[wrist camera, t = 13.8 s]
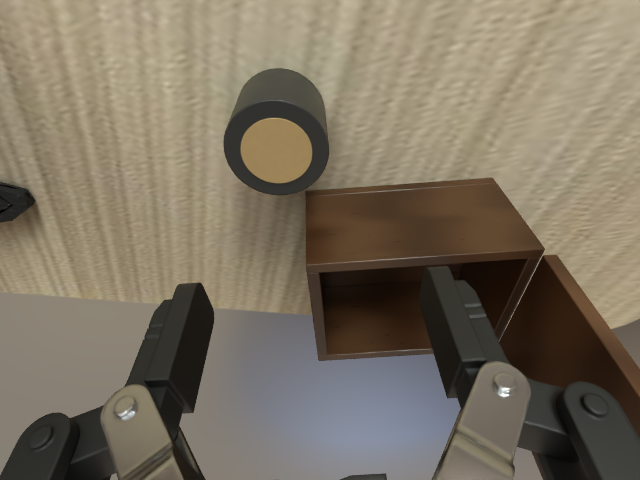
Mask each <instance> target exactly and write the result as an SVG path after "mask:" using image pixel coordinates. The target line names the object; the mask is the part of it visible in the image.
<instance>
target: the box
mask: <svg viewBox="0 0 640 480" xmlns="http://www.w3.org/2000/svg"><path fill="white" fill-rule="evenodd" d="M544 250H545V248H544V247H543V245H542V244H541V243H540V241H539V240H538V239H537V237H536V236H535V235H534V233H533V232H532V230H531V229H530V228H529V226H528V225H527V224H526V222H525V221H524V220H523V218H522V217H521V216H520V214H519V213H518V211H517V210H516V209H515V207H514V206H513V205H512V203H511V202H510V201H509V199H508V198H507V197H506V195H505V194H504V192H503V191H502V190H501V188H500V187H499V186H498V184H497V183H496V182H495V180H494V179H493V178H483V179H470V180H456V181H442V182H428V183H415V184H401V185H387V186H373V187H359V188H346V189H332V190H318V191H306V270H307V277H308V285H309V292H310V300H311V307H312V315H313V322H314V330H315V337H316V345H317V351H318V360H319V361H324V360H338V359H339V360H340V359H356V358H372V357H388V356H404V355H421V354H434V352H433V349H432V346H431V342H430V339H429V336H428V332H427V329H426V326H425V322H424V319H423V316H422V312H421V308H420V300H419V296H420V290H421V284H422V279H423V274H424V270H425V268H426V267H440V266H447V267H449V269H450V271H451V273H452V276H453V278H454V281H457V280H465V281H466V282H467V283H468V284H469V285H470V286H471V287H472V288H473V289H474V290H475V291H476V293H477V295H478V298H479V300H480V302H481V304H482V307H483V308H484V311H485V313H486V316H487V318H488V319H489V321H490V324H491V326H492V328H493V330H494V332H495V334H496V336H497V339H498V341H499V339H500V337H501V335H502V333H503V331H504V329H505V327H506V325H507V324H508V322H509V320H510V318H511V316H512V314H513V312H514V310H515V308H516V306H517V304H518V302H519V300H520V298H521V296H522V294H523V292H524V290H525V288H526V286H527V284H528V282H529V280H530V278H531V276H532V274H533V272H534V270H535V268H536V266H537V264H538V262H539V260H540V258H541V256H542V254H543V252H544Z"/></svg>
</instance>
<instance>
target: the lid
mask: <svg viewBox="0 0 640 480" xmlns="http://www.w3.org/2000/svg"><path fill="white" fill-rule="evenodd" d="M499 343H500V345H501V347H502V349H503V352H504V354H505V356H506V358H507V360H508V361H509V363H510V364H511V365H512V366H513V367H515V368H516V369H518V370H519V371H520V372H521V373H522V374H523V375H524V376H526V377H528V378H530V379H532V380H535V381H538V382H542V383H546V384H550V385H555V386H559V387H563V388H566V387H567V386H568V385H569V384H571V383H573V382H578V381H583V382H589V383H592V384H595V385H597V386H599V387H601V388H603V389H604V390H606V391H607V392H608V393H610V394H611V395H612V396H613V397H614V398H615V399H616V400H617V401H618V403H619V404H620V406H621V407H622V409H623V411H624V412H625V414H626V416H627V417H628V419H629V421H630V422H631V424H632V426H633V427H634V429H635V431H636V433H637V434H638V436H639V438H640V369H639V367H638V366H637V365H636V363H635V362H634V361H633V359H632V358H631V356H630V355H629V354H628V352H627V351H626V350H625V348H624V347H623V345H622V344H621V343H620V341H619V340H618V339H617V337H616V336H615V335H614V333H613V332H612V330H611V329H610V328H609V326H608V325H607V323H606V322H605V321H604V319H603V318H602V317H601V315H600V314H599V312H598V311H597V310H596V308H595V307H594V306H593V304H592V303H591V301H590V300H589V299H588V297H587V296H586V295H585V293H584V292H583V290H582V289H581V288H580V286H579V285H578V284H577V282H576V281H575V279H574V278H573V277H572V275H571V274H570V273H569V271H568V270H567V268H566V267H565V266H564V264H563V263H562V262H561V260H560V259H559V257H558V256H557V255H544V256H543V257H542V259H541V260H540V262H539V264H538V266H537V268H536V270H535V272H534V274H533V276H532V278H531V280H530V282H529V284H528V286H527V288H526V290H525V292H524V294H523V296H522V298H521V300H520V302H519V304H518V306H517V308H516V310H515V312H514V314H513V316H512V318H511V320H510V322H509V324H508V326H507V328H506V330H505V332H504V334H503V336H502V338H501V340H500V342H499ZM532 454H533V456H534V459H535V461H536V464H537V466H538V468H539V471H540V473H541V476H542V478H543V480H546V478H545V476H544V473H543V470H542V468H541V465H540V463H539V460H538V457H537V455H536V452H534V451H532Z"/></svg>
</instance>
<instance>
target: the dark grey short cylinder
mask: <svg viewBox="0 0 640 480" xmlns="http://www.w3.org/2000/svg"><path fill="white" fill-rule="evenodd" d="M224 152H225V156H226V159H227V162H228V164H229V166H230V168H231V169H232V171H233V172H234V174H235V175H236V176H237V177H238V178H239V179H240V180H241V181H242V182H243V183H245V184H246V185H248V186H249V187H251V188H253V189H255V190H257V191H259V192H263V193H266V194H271V195H288V194H293V193H297V192H299V191H302V190H304V189H306V188H307V187H309V186H310V185H312V184H313V183H314V182H315V181H316V180H317V179H318V178H319V177H320V176H321V174H322V173H323V171H324V169H325V167H326V164H327V161H328V156H329V144H328V134H327V125H326V115H325V107H324V103H323V99H322V97H321V95H320V93H319V91H318V90H317V88H316V87H315V86H314V84H313V83H312V82H311V81H310V80H308V79H307V78H306V77H304V76H303V75H301V74H299V73H297V72H295V71H292V70H288V69H269V70H265V71H262V72H260V73H258V74H256V75H255V76H253V77H252V78H251V79H250V80H249V81H248V82H247V83H246V84H245V85H244V87H243V89H242V90H241V92H240V95H239V97H238V100H237V102H236V105H235V108H234V110H233V113H232V115H231V118H230V121H229V123H228V126H227V128H226V131H225V135H224Z"/></svg>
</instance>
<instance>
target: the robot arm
mask: <svg viewBox="0 0 640 480" xmlns="http://www.w3.org/2000/svg"><path fill="white" fill-rule="evenodd" d="M419 300H420V308H421V312H422V316H423V319H424V322H425V326H426V329H427V332H428V336H429V339H430V342H431V346H432V349H433V352H434V356H435V359H436V362H437V366H438V368H439V372H440V376H441V379H442V382H443V385H444V389H445V392H446V396H447V398H458V401H459V404H460V407H461V410H460V412H459V415H458V417H457V419H456V422H455V424H454V427H453V429H452V432H451V434H450V437H449V439H448V442H447V444H446V447H445V449H444V451H443V454H442V456H441V459H440V461H439V464H438V466H437V468H436V470H435V473H434V475H433V477H432V480H513V477H514V471H515V470H514V469H515V467H514V465H513V459H514V455H515V451H516V448H517V447H520V448H524V449H527V450H530V451H534V452H536V455H537V457H538V460H539V463H540V465H541V468H542V470H543V473H544V476H545V478H546V480H640V438H639V436H638V434H637V433H636V431H635V429H634V427H633V426H632V424H631V422H630V421H629V419H628V417H627V416H626V414H625V412H624V411H623V409H622V407H621V406H620V404H619V403H618V401H617V400H616V399H615V398H614V397H613V396H612V395H611V394H610V393H608V392H607V391H606V390H604V389H603V388H601V387H599V386H597V385H595V384H592V383H589V382H583V381H578V382H573V383H571V384H569V385H568V386H567V387H566V388H563V387H559V386H555V385H550V384H546V383H542V382H538V381H535V380H532V379H530V378H528V377H526V376H524V375H523V374H522V373H521V372H520V371H519V370H518V369H516V368H515V367H513V366H512V365H511V364H510V363H509V361H508V360H507V358H506V356H505V354H504V352H503V349H502V347H501V345H500V343H499V341H498V339H497V336H496V334H495V332H494V330H493V328H492V326H491V324H490V321H489V319H488V318H487V316H486V313H485V311H484V308H483V307H482V304H481V302H480V300H479V298H478V295H477V293H476V291H475V290H474V289H473V288H472V287H471V286H470V285H469V284H468V283H467V282H466V281H465V280H457V281H454V278H453V276H452V273H451V271H450V269H449V267H447V266H440V267H426V268H425V270H424V274H423V279H422V284H421V290H420V296H419ZM213 324H214V311H213V307H212V305H211V303H210V300H209V298H208V296H207V294H206V292H205V289H204V287H203V285H202V284H201V283H187V284H179V285H178V286H177V287H176V289H175V292H174V295H173V298H172V299H171V300H164V301H163V302H162V303H161V305H160V306H159V307H158V308H157V309H156V311H155V312H154V314H153V316H152V319H151V321H150V324H149V329H147V332H146V334H145V339H144V340H143V342H142V345H141V347H140V350H139V352H138V355H137V357H136V360H135V363H134V365H133V368H132V370H131V373H130V376H129V378H128V380H127V383H126V385H125V386H124V387H123V388H121V389H120V390H118V391H117V392H115V393H114V394H113V395H112V396H111V397H110V398H109V399H108V401H107V402H106V403H105V405H103V406H101V407H99V408H96V409H94V410H91V411H88V412H86V413H83V414H80V415H78V416H75V417H73V418H68V416H66V415H65V414H62V413H51V414H48V415H45V416H43V417H41V418H39V419H38V420H36V421H35V422H34V423H32V424H31V425H30V426H29V427H28V428H27V429H26V430H25V431H24V432H23V434H22V435H21V436H20V438H19V440H18V442H17V443H16V446H15V448H14V449H13V451H12V454H11V455H10V457H9V460H8V461H7V463H6V465H5V467H4V469H3V471H2V473H1V475H0V480H110V477H111V475H112V474H114V473H117V477H118V480H206V479H205V477H204V476H203V474H202V472H201V470H200V468H199V466H198V464H197V462H196V459H195V458H194V455H193V453H192V451H191V449H190V447H189V445H188V443H187V441H186V439H185V437H184V434H183V432H182V430H181V428H180V427H179V423H180V419H181V415H182V413H193V412H194V408H195V403H196V399H197V395H198V390H199V386H200V381H201V377H202V373H203V368H204V364H205V360H206V355H207V350H208V346H209V342H210V337H211V333H212V329H213ZM341 480H387V477H386V474H370V475H352V476H348V477H346V478H343V479H341Z"/></svg>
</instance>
